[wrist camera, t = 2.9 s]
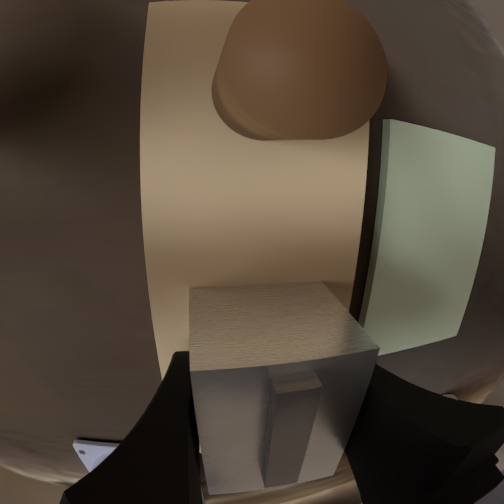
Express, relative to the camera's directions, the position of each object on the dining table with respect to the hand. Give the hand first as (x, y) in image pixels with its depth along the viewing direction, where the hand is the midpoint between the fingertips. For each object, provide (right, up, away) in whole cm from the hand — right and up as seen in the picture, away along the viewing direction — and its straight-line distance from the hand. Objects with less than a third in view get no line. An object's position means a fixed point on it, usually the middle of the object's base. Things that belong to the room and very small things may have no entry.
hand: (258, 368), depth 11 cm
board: (+9, +4, +4) cm, 11 cm away
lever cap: (0, 0, +1) cm, 1 cm away
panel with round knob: (-1, +4, +2) cm, 5 cm away
